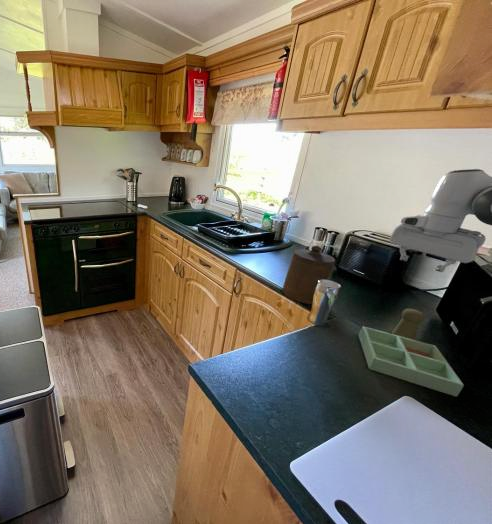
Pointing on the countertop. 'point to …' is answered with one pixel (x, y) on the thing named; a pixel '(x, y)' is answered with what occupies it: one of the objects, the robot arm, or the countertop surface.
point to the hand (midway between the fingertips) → (420, 265)
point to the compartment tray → (409, 361)
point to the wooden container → (306, 273)
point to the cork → (409, 324)
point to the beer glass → (323, 301)
